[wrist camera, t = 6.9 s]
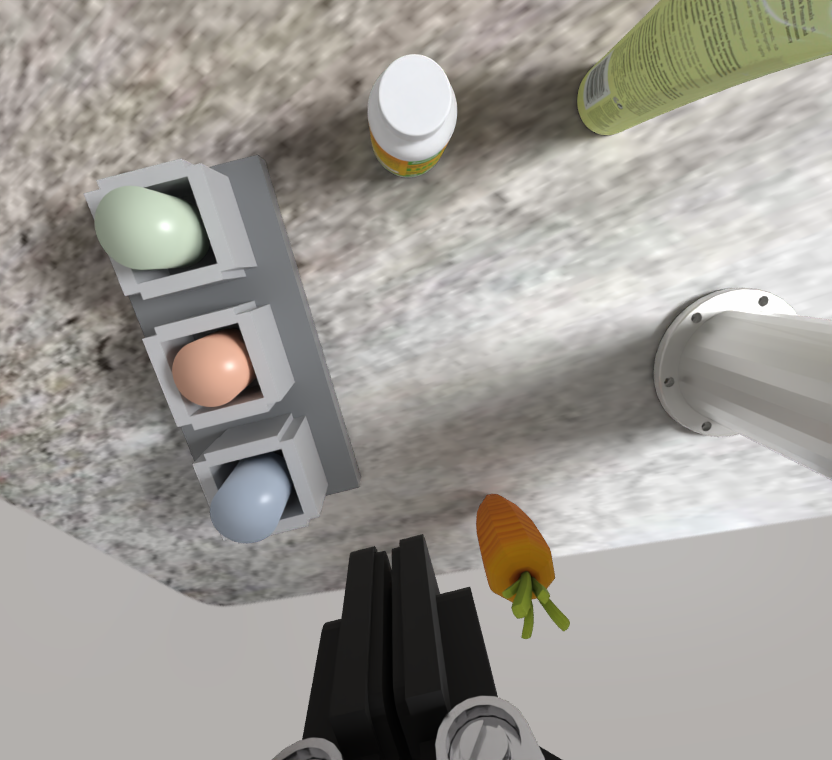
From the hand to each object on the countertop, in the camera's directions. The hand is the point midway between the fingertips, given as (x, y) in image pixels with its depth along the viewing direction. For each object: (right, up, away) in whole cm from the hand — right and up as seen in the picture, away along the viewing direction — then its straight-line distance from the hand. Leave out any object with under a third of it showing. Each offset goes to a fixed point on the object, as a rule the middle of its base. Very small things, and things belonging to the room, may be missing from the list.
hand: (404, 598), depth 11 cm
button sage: (-15, +14, +20) cm, 29 cm away
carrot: (+7, -6, +32) cm, 33 cm away
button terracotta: (-13, +6, +25) cm, 29 cm away
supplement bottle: (0, +23, +24) cm, 33 cm away
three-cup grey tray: (-13, +7, +27) cm, 31 cm away
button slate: (-11, -2, +25) cm, 27 cm away
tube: (+14, +25, +25) cm, 38 cm away
